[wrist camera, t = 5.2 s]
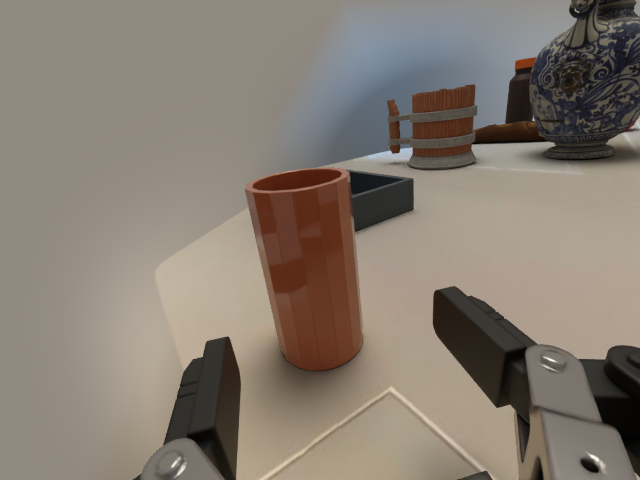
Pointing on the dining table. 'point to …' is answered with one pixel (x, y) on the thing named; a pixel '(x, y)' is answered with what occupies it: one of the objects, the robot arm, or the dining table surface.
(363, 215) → the tray
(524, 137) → the bread
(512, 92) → the vinegar
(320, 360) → the tumbler
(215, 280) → the dining table surface
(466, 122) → the mug
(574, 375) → the robot arm
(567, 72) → the decorative vase
